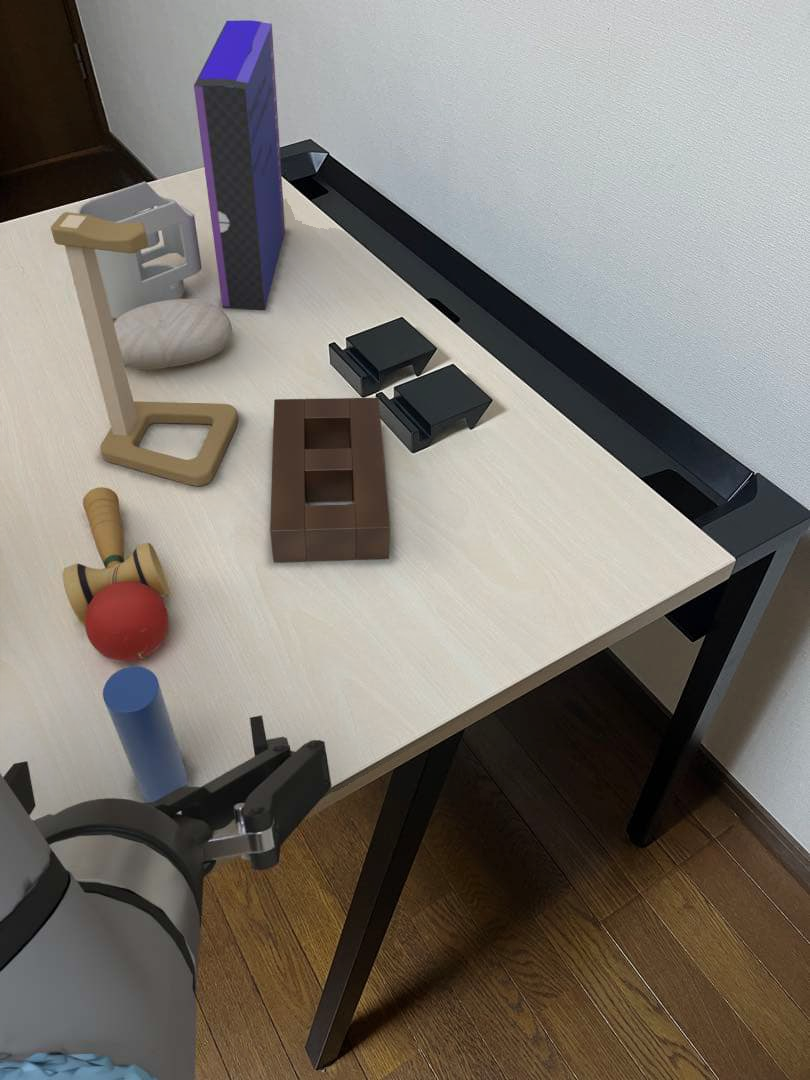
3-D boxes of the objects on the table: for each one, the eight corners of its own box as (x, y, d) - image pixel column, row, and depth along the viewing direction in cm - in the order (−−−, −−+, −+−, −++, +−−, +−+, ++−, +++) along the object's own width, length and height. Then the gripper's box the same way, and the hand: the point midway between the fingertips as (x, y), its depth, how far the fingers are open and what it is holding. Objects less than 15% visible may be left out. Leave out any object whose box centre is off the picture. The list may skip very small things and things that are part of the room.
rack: (273, 562, 74) (270, 530, 71) (277, 431, 85) (274, 399, 82) (388, 559, 75) (390, 527, 72) (377, 429, 86) (378, 397, 83)
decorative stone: (226, 322, 97) (221, 282, 93) (241, 370, 91) (237, 329, 87) (107, 339, 94) (97, 298, 90) (115, 390, 88) (105, 349, 84)
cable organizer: (209, 295, 100) (195, 195, 91) (114, 337, 94) (89, 233, 85) (176, 271, 103) (159, 171, 94) (81, 310, 97) (54, 207, 88)
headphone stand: (209, 489, 79) (171, 272, 63) (93, 472, 80) (25, 254, 64) (241, 415, 86) (214, 203, 70) (134, 400, 87) (83, 187, 71)
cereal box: (247, 229, 110) (226, 18, 92) (285, 232, 110) (271, 21, 92) (222, 307, 99) (193, 83, 81) (264, 310, 99) (245, 86, 81)
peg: (137, 805, 59) (98, 713, 50) (142, 762, 61) (106, 666, 52) (185, 802, 59) (155, 711, 50) (189, 759, 61) (161, 664, 53)
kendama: (53, 538, 76) (77, 686, 64) (47, 478, 73) (71, 622, 60) (144, 528, 79) (185, 668, 67) (143, 470, 76) (185, 606, 63)
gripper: (-277, 1132, 29) (-69, 869, 50) (443, 946, 34) (359, 777, 55) (-323, 917, 28) (-93, 742, 49) (415, 759, 33) (341, 660, 54)
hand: (145, 760), depth 52 cm, fingers open, 13 cm apart
